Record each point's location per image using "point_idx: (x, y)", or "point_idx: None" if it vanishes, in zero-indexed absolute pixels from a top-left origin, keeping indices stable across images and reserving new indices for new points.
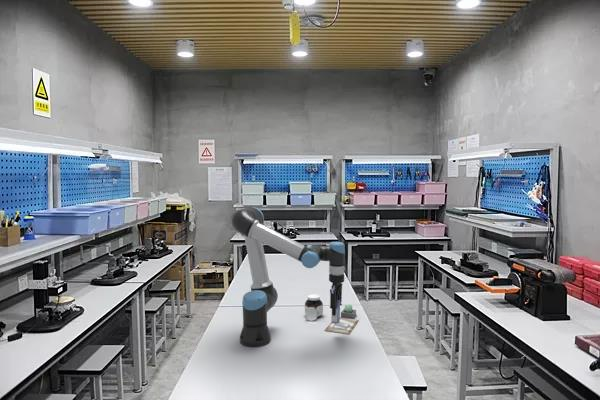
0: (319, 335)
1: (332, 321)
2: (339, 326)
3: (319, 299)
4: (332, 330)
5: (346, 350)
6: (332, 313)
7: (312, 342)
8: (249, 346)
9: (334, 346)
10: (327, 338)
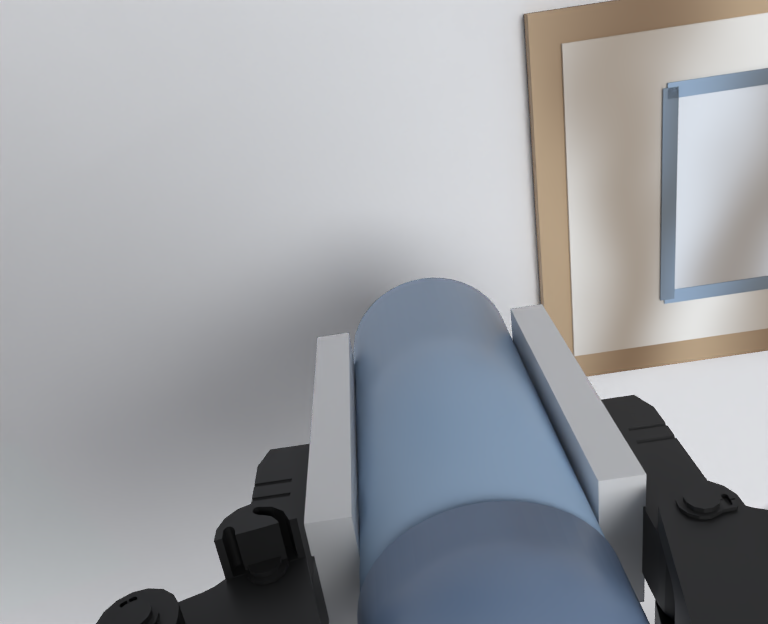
0: (326, 21)
1: (360, 330)
2: (741, 172)
3: None
4: (562, 138)
5: (119, 514)
6: (257, 488)
7: (39, 50)
8: None
9: (125, 369)
10: (292, 184)
